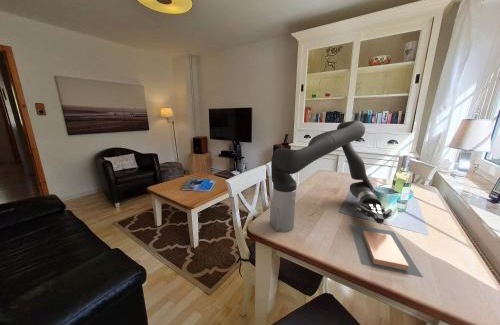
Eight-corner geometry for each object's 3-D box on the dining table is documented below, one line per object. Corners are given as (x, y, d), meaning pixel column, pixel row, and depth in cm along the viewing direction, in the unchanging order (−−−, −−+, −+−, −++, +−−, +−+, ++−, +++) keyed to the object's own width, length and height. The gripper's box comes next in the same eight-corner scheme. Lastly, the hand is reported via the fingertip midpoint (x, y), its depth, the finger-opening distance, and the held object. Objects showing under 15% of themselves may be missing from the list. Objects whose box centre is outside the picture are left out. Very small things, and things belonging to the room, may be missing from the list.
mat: (349, 225, 84) (349, 224, 84) (393, 232, 79) (393, 231, 79) (361, 265, 62) (361, 264, 62) (422, 279, 57) (423, 277, 57)
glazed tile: (363, 230, 76) (374, 258, 61) (390, 234, 73) (408, 265, 59) (362, 235, 77) (373, 264, 62) (389, 239, 74) (407, 271, 59)
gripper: (353, 191, 89) (361, 209, 73) (387, 195, 85) (403, 215, 69) (351, 206, 91) (358, 227, 75) (384, 211, 87) (399, 233, 71)
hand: (380, 221), depth 72 cm, fingers closed
